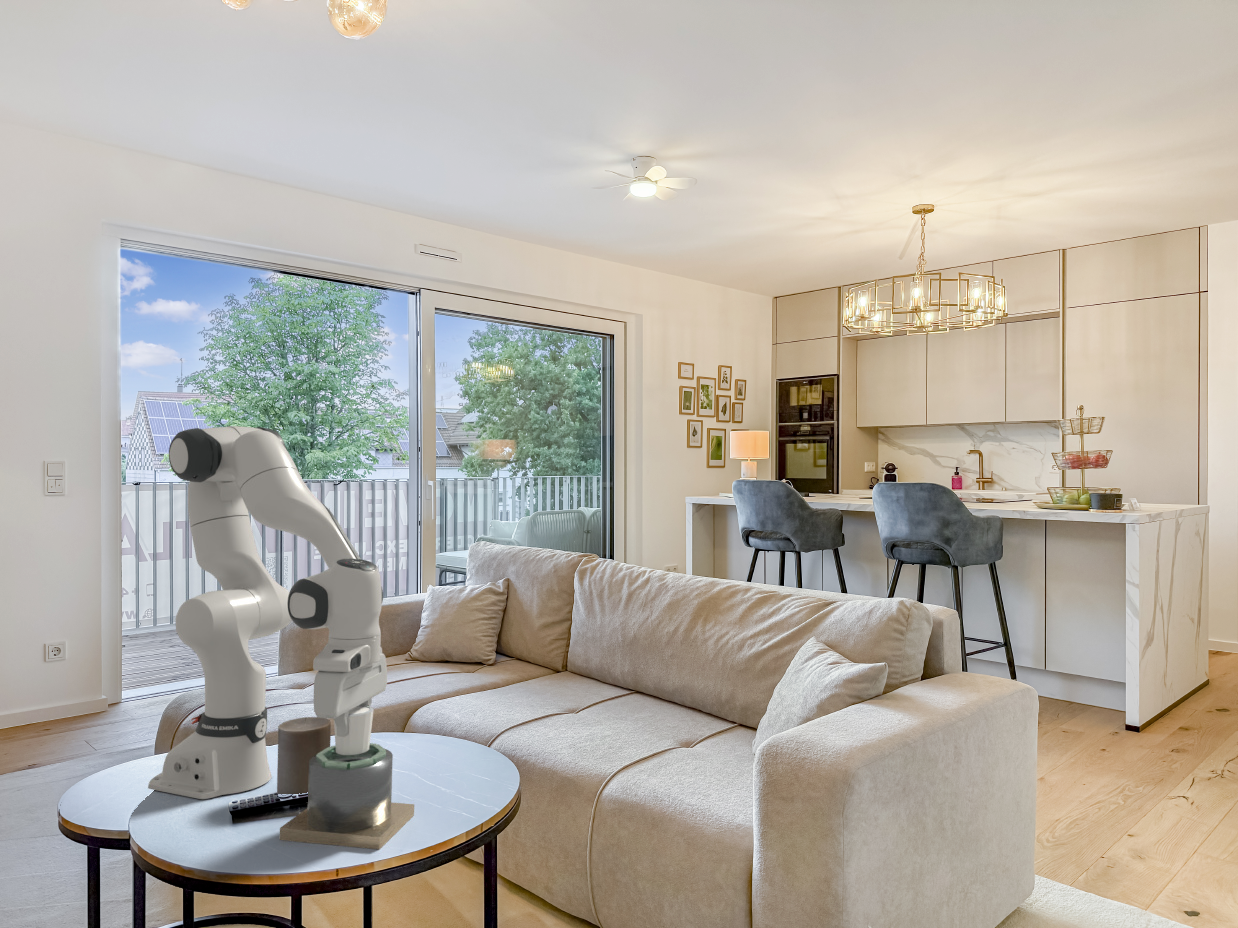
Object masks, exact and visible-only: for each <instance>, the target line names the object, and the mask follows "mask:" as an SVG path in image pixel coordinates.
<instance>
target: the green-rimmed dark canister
mask: <svg viewBox="0 0 1238 928" xmlns="http://www.w3.org/2000/svg"><path fill="white" fill-rule="evenodd" d="M393 756H394V755H393V753H392V751H390V750H389V749H387V748H384V747H383V746H381V745H380V744H377V743H373V742H370V745H369V750H368V751H366V752H364V753H360V754H355V755H341V754H338V753H336V745H335V744H334V745H330V747H328V748H326V749H324V750H323V751H321V752H320V753H318V754H317V755H315V756H314V757H312V758H311V759H310V761H309V780H308V802H307V808H305V809H304V810H302V811H301V812H300V813H298V814H296V816H294V817H293V818H292V819H291V820H289V821H288V822H286V823H285V824H283V825H281V826H280V827H279V841H288V842H295V843H296V842H297V843H308V844H318V845H328V846H340V847H350V848H360V849H370V850H371V849H372V850H381V848H383V847H384V846H385V844H387V843H388V842H389V841H390V840H391V839H392V838H393V837H394V836H395V835H396V834H397V833H398V832H399V831H400V830H401V829H402V828H403V827H404V826H405V825H406V824H407V823H408V822H409V821H410V820H411V819H412V818H413V817H414V816H415V803H405V802H403V803H401V802H393V801H392V788H393V760H394V759H393Z"/></svg>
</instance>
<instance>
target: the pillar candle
mask: <svg viewBox="0 0 1238 928" xmlns="http://www.w3.org/2000/svg"><path fill="white" fill-rule="evenodd" d="M331 725H332V723H331V720H330V718H318V717H317V716H305V717H299V718H298V717H297V718H294V719H293V718H292V719H288V720H286V721H283V722H282V723H280V724H279V725H278V726H277V731H278V732H277V737H278V738H277V771H276V772H277V773H276V774H277V777H276V795H277V794H299V793H300V794H302V793H307V792H308V780H309V761H310V759H311V758H312V757H314V756H315V755H317V754H318V753H320V752H321V751H323V750H324V749H326V748H328V747H331V731H332V730H331V727H332V726H331Z"/></svg>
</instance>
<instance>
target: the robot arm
mask: <svg viewBox="0 0 1238 928" xmlns="http://www.w3.org/2000/svg"><path fill="white" fill-rule="evenodd" d="M168 461H169V465H170V467H171V471H172V472H173V473H174V474H175V475H176V476H177V477H178V479H180V480H181V481H182V480H183V481H187V482H188V485H187V513H188V521H189V527H190V534H191V538H192V542H193V543H192V544H193V548H194V549H193V550H194V553H195V558H196V563H197V564H198V566H199V567H200V568H201V569H202V570H204V571H205V572H207V573H209V574H210V575H212V576H213V577H214V578H215V579H216V580H217V582H218V583H219V584H220V587H221V588H222V589H219V590H211V591H207V592H204V593H202V594H199V595H196V596H193V597H191V598H190V599H187V600H185V601H184V602H183V603H182V604H181V605H180V607H179V608H178V610H177V613H176V617H175V623H174V624H175V630H176V634H177V636H178V637H179V639H180V640H181V642H182V643H183V644H184V645H185V646H187V647H188V648H190V649H191V650H193V651H194V653H195V654H196V656H197V658H198V659H199V661H200V663H201V667H202V670H203V676H204V711H203V712H202V713H200V714H198V716H195V717H193V718H191V721H192V722H191V725H194V724H196V725H197V726H196V727H195V730H194V731H193V732H192V733H191V734H190V735H188V736H187V737H186V738H185V739H183V740H182V741H181V742H179V743H178V744H177V745H176V746H174V747H173V748H171V749H170V751H169V752H167V754H166V756H165V757H164V758H165V759H164V762H163V765H162V766H163V767H162V772H160V773H158V774H157V775H155V776H154V777H152V778H151V779H150V781H148V786H147V789H148V790H152V791H153V790H154V791H159V792H163V793H168V794H174V795H177V796H183V797H189V798H194V799H199V800H207V799H211V798H216V797H220V796H222V795H223V796H225V795H230V794H231V795H232V794H237V793H242V792H245V791H250V790H254V789H256V788H258V787H261V786H263V785H265V784H267V783H268V782H269V781H270V780H271V779H272V772H271V770H270V765H269V760H268V759H269V758H268V754H267V744H266V734H267V729H268V707H267V706H266V693H267V688H266V687H267V685H266V684H267V672H266V670H265V668H264V667H263V665H262V664H260V663H259V662H257V661H254V660H253V658H252V657H251V654H250V649H249V641H251V640H255V639H256V640H257V639H260V638H265V637H269V636H271V635H273V634H275V633H277V632H279V631H281V630H282V629H284V628H286V627H287V626H288V625H289V624H290V623H291V622H293V623H294V624H295V625H296V626H297V627H299V628H300V629H305V630H319V629H325V628H327V629H328V630H329V631H328V641H327V643H326V644H325V645H324V647H323V648H322V650H321V651H320V652H319V653H318V654H317V655H316V656H315V657H314V659H313V661H312V662H313V663H312V665H313V666H312V669H313V671H316V674H315V677H314V682H313V710H314V714H315V717H318V718H327V719H329V720H330V719H331V720H332V719H333V722H334V721H335V724H336V726H337V736H339V737H345V736H347V735H348V734H349V725H348V721H347V717H348V713H349V710H351V709H353V708H355V707H356V706H370V707H371V706H372V701H373V700H372V699H373V698H374V697H376V696H378V695H379V694H381V693H383V692H385V691H386V688H387V685H388V669H387V665H388V664H387V657H386V655H385V654H384V653H383V647H382V646H381V644H382V643H381V639H382V638H381V637H382V635H381V634H382V633H381V628H380V627H381V626H380V615H381V612H382V608H383V605H382V604H383V601H384V590H383V586H382V580H381V575H380V574H381V573H380V570H379V568H378V565H376V564H374V563H373V562H372V561H370V560H366V559H362V558H361V557H360V555H359V553H358V552H357V551H356V549H355V547H354V545H353V544H352V542H351V541H350V539H349V538H348V536H347V534H346V533H345V531H344V529H343V527H342V526H341V525H340V523H339V521H338V519H336V517H335V515H334V514H333V513H332V511H331V510H330V508H328V507H327V506H326V504H324V503H323V502H322V501H320V500H319V499H318V498H317V497H316V496H315V495H314V494H313V492H312V491H311V490H310V488H309V487H308V486H307V485H306V483H305V481H304V479H303V478H302V476H301V474H300V472H299V470H298V467H297V466H296V463H295V462H294V459H293V458H292V456H291V454H290V453H289V451H288V450H287V447H286V444H285V441H284V440H283V437H282V436H281V434H280V433H279V432H277V430H273V429H271V428H267V427H262V426H256V427H250V426H237V425H235V426H234V425H228V426H220V427H219V426H218V427H206V428H198V427H194V428H190V429H189V428H188V429H185V430H181V431H179V432H178V433H177V434H176V435H174V437H173V438H172V440H171V441H170V444H169V448H168ZM250 515H251V516H252V518H253V519H254V520H255V521H256V522H258V523H259V524H261V525H263V526H265V527H267V528H270V529H272V530H278V531H280V532H281V531H282V532H285V533H289V534H292V535H295V536H297V537H300V538H302V539H304V540H306V541H308V542H310V544H312V545H313V546H314V547H315V548H316V549H317V551H318V553H319V554H320V556H321V558H322V559H323V561H324V562H325V564H326V566H327V569H326V570H324V571H322V572H319V573H317V574H314V575H310V576H307V577H303V578H300V579H298V580H297V581H296V582H295V583H294V584H293V585H292V587H291V588H290V590H288V589H287V588H286V587H283V586H282V585H281V584H279V583H278V582H277V581H276V580H275V579H274V578H273V576H272V575H271V574H270V573H269V571H268V569H267V568H266V566H265V564H264V563H263V561H262V559H261V556H260V554H259V551H258V549H257V545H256V541H255V537H254V532H253V528H252V523H251V519H250ZM197 723H198V724H197Z"/></svg>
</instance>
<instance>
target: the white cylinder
mask: <svg viewBox="0 0 1238 928" xmlns="http://www.w3.org/2000/svg"><path fill="white" fill-rule="evenodd" d="M373 719H374V707H371V706H359V705H358V706H356V707H355V708H353V709H351V710H349V713H348V717H347V721H348V725H349V734H348V735H347V736H345V737H339V736H337V726H336V724H335V721H334V720H333V728H334V742H335V744H334V746H335V745H336V753H338V754H341V755H355V754H360V753H364V752H366V751H368V750H369V745H370V743H371V736H372V735H371V734H372V726H373Z"/></svg>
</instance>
